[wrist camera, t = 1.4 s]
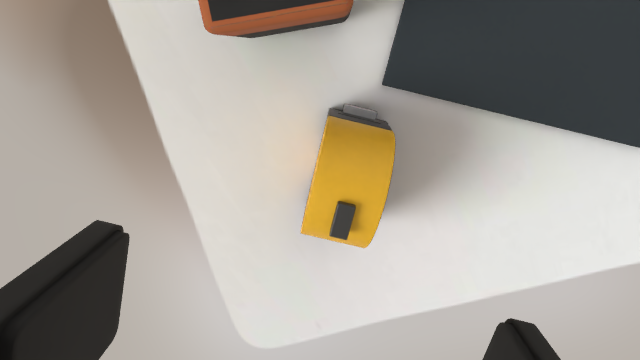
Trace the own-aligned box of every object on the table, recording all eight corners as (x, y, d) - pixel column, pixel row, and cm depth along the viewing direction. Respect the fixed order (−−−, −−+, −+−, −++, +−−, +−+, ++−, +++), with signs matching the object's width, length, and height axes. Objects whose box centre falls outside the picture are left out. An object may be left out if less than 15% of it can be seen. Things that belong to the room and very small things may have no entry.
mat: (750, -84, 25) (757, -86, 24) (640, 147, 29) (644, 148, 28) (449, -163, 24) (451, -167, 24) (381, 84, 28) (382, 84, 28)
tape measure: (331, 99, 29) (329, 118, 21) (389, 113, 29) (407, 136, 21) (305, 207, 31) (295, 257, 24) (359, 219, 31) (365, 274, 24)
